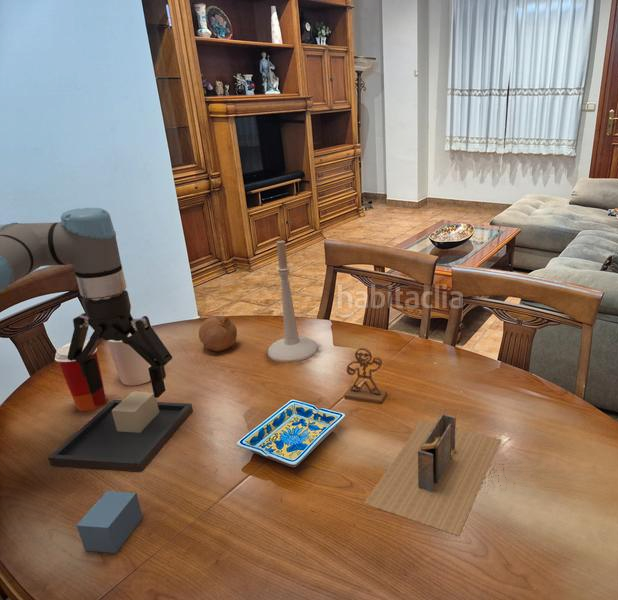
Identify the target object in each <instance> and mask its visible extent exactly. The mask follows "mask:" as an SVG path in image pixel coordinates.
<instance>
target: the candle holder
mask: <svg viewBox="0 0 618 600" xmlns="http://www.w3.org/2000/svg"><path fill="white" fill-rule="evenodd" d="M133 327H134V326H133ZM134 328H135V327H134ZM130 336H131V334H130V333H129V335H128V336H127V337H130ZM106 344H107V346H108V348H109V352H110V354H111V357H112V360H113V363H114V367H115V369H116V372H117V374H118V377H119V380H120V383H122V384H123V385H125V386H131V387H132V386H133V387H134V386H139V385H140V386H141V385H143V384H144V385H145V384H146V383H149V382H151V379H150V374H149V370H148V368H150V367H151V365H150V364H149V363H148V362H147V361H146V360H144V359H143V358H142V357H141V356H140V355H139V354H138V353H137V352H136V351H135V350H134V349H133V348H132V347H131V346H130V345H128V344H125V343H123V342H122V341H114V340H106Z"/></svg>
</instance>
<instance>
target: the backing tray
mask: <svg viewBox="0 0 618 600" xmlns="http://www.w3.org/2000/svg"><path fill="white" fill-rule="evenodd" d="M123 400H124V399H123ZM123 400H122V399H113V400H112V401H110V402H109V403H108V404H107V405H106V406H105V407H104V408H102V409H101V410H100V411H99V412H98V413H97V414H95V415H94V416H93V417H92V418H91V419H89V421H88V422H86V423H85V424H84V425H83V426H82V427H81V428H80V429H78V430H77V431H76V432H75V433H74V434H73V435H72V436H70V437H69V439H67V440H66V441H65V442H64V443H63V444H62V445H60V446H59V447H58V448H57V449H56V450H55V451H53V452H52V453H51V454H50V455H49V456H48V457H47V459H48V462H49V465H50V466H51V467H52V466H53V467H69V468H81V469H82V468H84V469H98V470H114V471H125V472H126V471H129V472H143V470H144V469H145V468H146V467H147V466H148V465H149V464H150V462H151V461H152V460H153V459H154V457H156V455H157V454H158V453H159V452H160V451H161V449H162V448H163V447H164V446H165V445H166V444H167V442H168V441H169V440H170V439H171V438H172V436H173V435H174V434H175V433H176V432H177V430H179V428H180V427H181V426H182V425H183V423H184V422H185V421H186V420H187V419H188V417H189V416H190V415H191V414H192V412H194V409H193V404H192V403H183V402H164V401H163V402H162V401H157V404H158V408H159V414H158V415H157V416H156V417H155V418H154V419H153V420H152V421H151V422H150V423H149V424H148V425H147V426H146V427H145V428H144V429H143V430H142V432H141V433H136V432H119V431H117V429H116V425H115V421H114V418H113V414H112V410H113V409H114V408H115V407H116V406H117V405H118V404H119V403H120V402H121V401H123Z"/></svg>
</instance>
